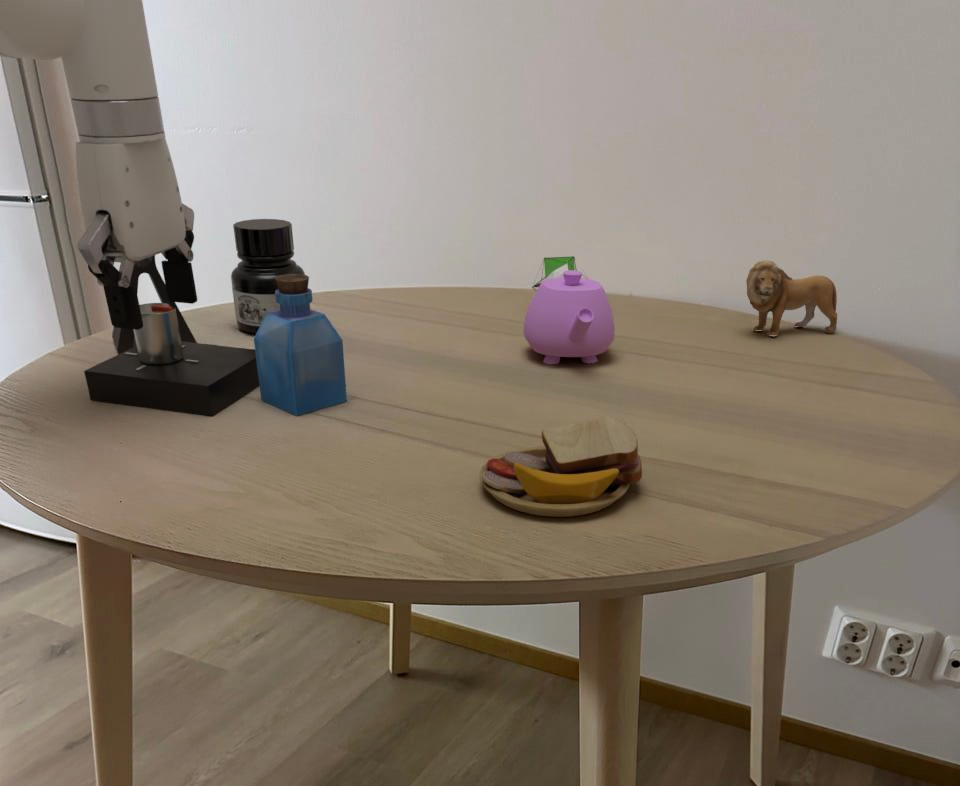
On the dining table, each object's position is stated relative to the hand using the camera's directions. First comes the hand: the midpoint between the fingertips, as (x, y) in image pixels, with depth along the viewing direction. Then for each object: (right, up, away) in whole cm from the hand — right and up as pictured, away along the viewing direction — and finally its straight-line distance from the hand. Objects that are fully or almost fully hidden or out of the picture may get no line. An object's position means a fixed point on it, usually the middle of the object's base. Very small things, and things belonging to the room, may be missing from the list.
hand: (156, 314), depth 93 cm
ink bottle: (+7, +6, +23) cm, 25 cm away
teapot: (+43, 0, +14) cm, 45 cm away
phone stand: (-6, +2, +17) cm, 18 cm away
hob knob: (0, -4, +2) cm, 4 cm away
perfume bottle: (+15, -9, +1) cm, 17 cm away
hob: (+2, -7, +4) cm, 8 cm away
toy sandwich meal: (+39, -20, -15) cm, 47 cm away
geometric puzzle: (+44, +12, +32) cm, 55 cm away
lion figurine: (+72, +6, +24) cm, 76 cm away
